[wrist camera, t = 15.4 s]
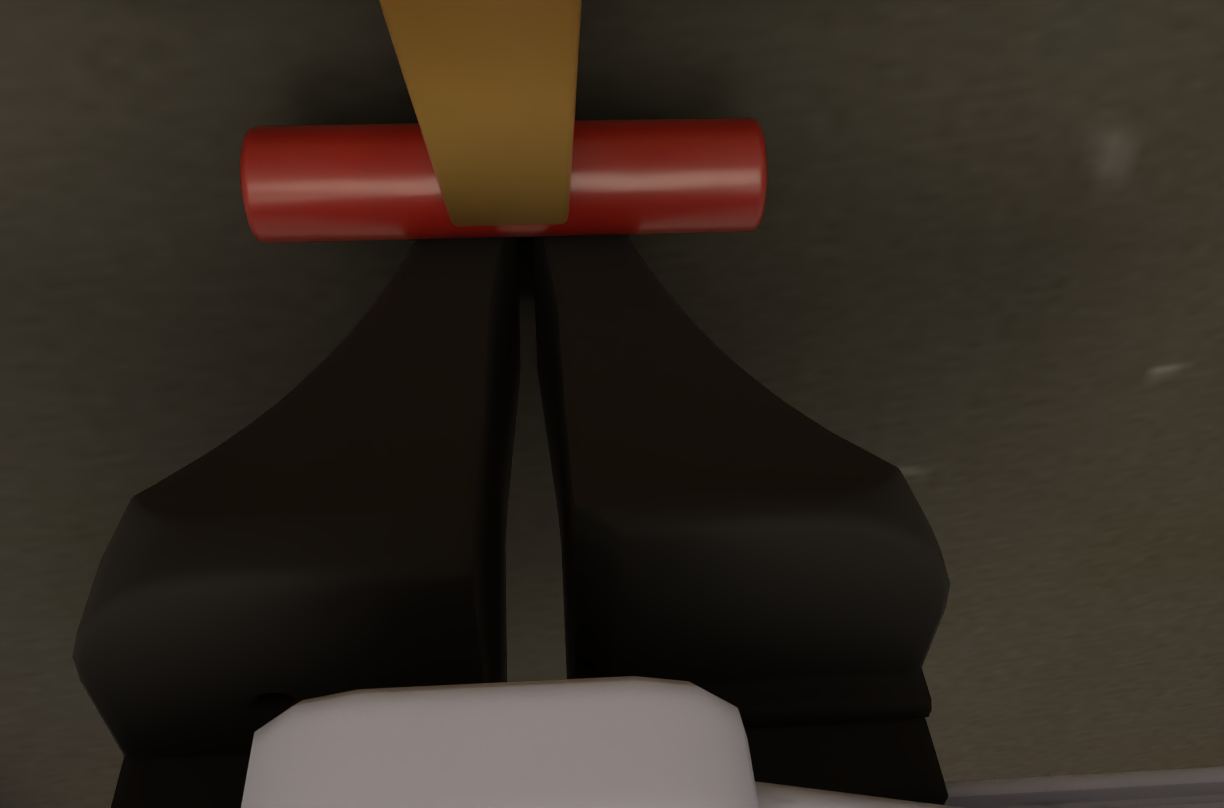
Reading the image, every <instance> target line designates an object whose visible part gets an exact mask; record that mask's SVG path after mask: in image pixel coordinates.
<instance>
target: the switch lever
mask: <svg viewBox="0 0 1224 808" xmlns="http://www.w3.org/2000/svg"><path fill="white" fill-rule="evenodd" d="M379 3H380V6H381V9H382V12H383V15H384V18H385V21H386V24H387V27H388V30H389V33H390V37H391V40H392V43H393V46H394V49H395V52H396V55H397V58H398V61H399V64H400V67H401V70H402V74H403V77H404V80H405V83H406V86H407V89H408V92H409V95H410V98H411V101H412V104H413V107H414V110H415V114H416V117H417V120H418V123H398V124H339V125H280V126H255V127H253V128H251V129H249V130H248V131H247V132H246V134H245V137H244V140H243V145H242V149H241V157H240V183H241V193H242V200H243V205H244V210H245V214H246V218H247V221H248V223H249V226H250V228H251V231H252V233H253V235H254V236H255V237H256V239H258V240H260V241H263V242H265V243H281V242H324V241H367V240H410V239H453V238H496V237H539V236H582V235H625V234H668V233H711V232H749V231H752V230H754V229H756V228H757V227H758V226H759V224H760V221H761V219H762V216H763V212H764V208H765V201H766V192H767V154H766V145H765V139H764V135H763V132H762V129H761V126H760V123H759V122H758V121H757V120H755V119H752V118H692V119H633V120H575V106H576V89H577V73H578V57H579V41H580V24H581V8H582V0H379Z"/></svg>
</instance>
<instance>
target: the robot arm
mask: <svg viewBox="0 0 1224 808" xmlns="http://www.w3.org/2000/svg"><path fill="white" fill-rule="evenodd" d="M533 247H534V278H535V310H536V341H537V369H538V377H539V384H540V391H541V398H542V404H543V411H544V418H545V425H546V432H547V439H548V446H549V453H550V460H551V466H552V473H553V480H554V487H555V494H556V501H557V507H558V515H559V525H560V535H561V546H562V570H563V594H564V618H565V642H566V667H567V679H563V680H543V681H522V682H507V637H506V549H505V546H506V525H507V509H508V499H509V488H510V478H511V467H512V456H513V446H514V435H515V424H516V414H517V403H518V392H519V381H520V324H519V291H518V269H517V247H516V237H496V238H453V239H418V240H417V241H416V243H415V244H414V246H413V248H412V249H411V251H410V253H409V254H408V256H407V257H406V259H405V261H404V262H403V264H402V265H401V267H400V268H399V270H398V271H397V272H396V274H395V275H394V277H393V278H392V279H391V281H390V282H389V283H388V285H387V286H386V287H385V289H384V290H383V292H382V293H381V294H380V296H379V297H378V298H377V300H376V301H375V303H374V304H373V305H372V307H371V308H370V309H369V310H368V312H367V313H366V314H365V315H364V316H363V318H362V319H361V320H360V321H359V322H358V324H357V325H356V326H355V327H354V328H353V329H352V331H351V332H350V333H349V334H348V335H347V336H346V337H345V338H344V340H343V341H342V342H341V343H340V344H339V345H338V346H337V347H336V348H335V349H334V350H333V351H332V352H331V354H330V355H329V356H328V357H327V358H326V359H325V360H324V361H323V362H321V363H320V364H319V365H318V366H317V367H316V368H315V369H314V370H313V371H312V372H311V373H310V374H309V375H308V376H307V377H306V378H305V379H304V380H303V381H302V382H300V383H299V384H298V385H297V386H296V387H295V388H294V389H293V390H292V391H291V392H290V393H288V394H287V395H286V396H285V397H284V398H283V399H282V400H280V401H279V402H278V403H277V404H276V405H274V406H273V407H272V408H270V409H269V410H268V411H267V412H265V413H264V414H263V415H261V416H260V417H259V418H257V419H256V420H255V421H253V422H252V423H251V424H249V425H248V426H247V427H245V428H244V429H242V430H241V431H239V432H238V433H237V434H235V435H234V436H232V437H231V438H229V439H228V440H227V441H225V442H224V443H222V444H221V445H219V446H218V447H216V448H215V449H213V450H212V451H210V452H209V453H207V454H206V455H204V456H202V457H200V458H199V459H197V460H195V461H194V462H192V463H190V464H189V465H187V466H185V467H184V468H182V469H180V470H178V471H177V472H175V473H173V474H172V475H170V476H168V477H167V478H165V479H163V480H162V481H160V482H158V483H157V484H155V485H153V486H151V487H150V488H148V489H146V490H144V491H142V492H140V493H139V494H137V495H135V496H134V497H133V498H132V499H131V501H130V503H129V505H128V507H127V509H126V511H125V513H124V515H123V517H122V519H121V521H120V523H119V525H118V527H117V529H116V531H115V533H114V534H113V536H112V538H111V541H110V543H109V545H108V547H107V549H106V551H105V553H104V555H103V557H102V560H101V562H100V564H99V567H98V570H97V573H96V576H95V579H94V582H93V584H92V588H91V591H90V594H89V597H88V600H87V603H86V606H85V609H84V613H83V616H82V619H81V622H80V625H79V628H78V631H77V636H76V641H75V646H74V652H73V659H74V662H75V665H76V669H77V672H78V675H79V678H80V681H81V682H82V684H83V686H84V687H85V689H86V691H87V693H88V694H89V696H90V698H91V699H92V701H93V703H94V705H95V706H96V708H97V710H98V712H99V713H100V715H101V717H102V718H103V720H104V722H105V724H106V725H107V727H108V729H109V730H110V732H111V734H112V736H113V737H114V739H115V741H116V743H117V744H118V746H119V748H120V749H121V751H122V753H123V755H124V760H123V764H122V768H121V771H120V775H119V779H118V783H117V786H116V790H115V794H114V798H113V802H112V805H111V808H1224V766H1222V767H1204V768H1186V769H1168V770H1150V771H1132V772H1114V773H1096V774H1078V775H1060V776H1042V777H1024V778H1006V779H988V780H970V781H952V782H944V779H943V775H942V772H941V769H940V766H939V762H938V759H937V756H936V752H935V749H934V746H933V742H932V739H931V736H930V732H929V729H928V726H927V722H926V719H925V717H928V716H929V714H930V712H931V709H932V707H931V697H930V694H929V690H928V687H927V684H926V681H925V677H924V674H923V671H922V665H923V663H924V660H925V658H926V655H927V653H928V650H929V648H930V645H931V643H932V640H933V638H934V635H935V633H936V630H937V628H938V625H939V623H940V620H941V618H942V615H943V613H944V610H945V608H946V604H947V598H948V593H949V587H950V581H949V578H948V574H947V571H946V567H945V563H944V560H943V557H942V553H941V550H940V547H939V545H938V542H937V540H936V537H935V535H934V533H933V530H932V528H931V526H930V524H929V522H928V520H927V519H926V517H925V515H924V513H923V511H922V509H921V507H920V505H919V503H918V501H917V500H916V498H915V496H914V494H913V492H912V491H911V489H910V487H909V485H908V483H907V481H906V480H905V478H904V476H903V474H902V473H901V471H900V470H899V469H898V468H897V467H896V466H894V465H892V464H890V463H888V462H886V461H884V460H882V459H881V458H879V457H877V456H875V455H873V454H871V453H869V452H868V451H866V450H864V449H862V448H860V447H858V446H856V445H854V444H853V443H851V442H849V441H847V440H845V439H843V438H841V437H839V436H838V435H836V434H834V433H832V432H830V431H829V430H827V429H825V428H824V427H822V426H821V425H819V424H818V423H816V422H815V421H813V420H811V419H810V418H808V417H807V416H805V415H804V414H802V413H801V412H799V411H798V410H796V409H795V408H793V407H791V406H790V405H788V404H787V403H786V402H784V401H783V400H782V399H780V398H779V397H777V396H776V395H775V394H773V393H772V392H771V391H770V390H768V389H767V388H766V387H764V386H763V385H762V384H761V383H759V382H758V381H757V380H756V379H754V378H753V377H752V376H751V375H749V374H748V373H747V372H745V371H744V370H743V369H742V368H740V367H739V366H738V365H737V364H736V363H735V362H734V361H733V360H731V359H730V358H729V357H728V356H727V355H726V354H725V353H724V352H723V351H722V350H720V349H719V348H718V347H717V346H716V345H715V344H714V343H713V342H712V341H711V340H710V339H709V338H708V337H707V336H706V335H705V334H704V333H703V332H702V331H701V330H700V329H699V328H698V327H697V325H696V324H695V323H694V322H693V321H692V320H691V319H690V318H689V317H688V316H687V315H686V313H685V312H684V311H683V310H682V309H681V308H680V306H679V305H678V304H677V303H676V302H675V301H674V299H673V298H672V297H671V296H670V294H669V293H668V292H667V291H666V289H665V288H664V287H663V286H662V285H661V283H660V282H659V281H658V279H657V278H656V277H655V275H654V274H653V273H652V271H651V270H650V269H649V267H648V266H647V265H646V263H645V262H644V260H643V259H642V257H641V256H640V255H639V253H638V252H637V250H636V249H635V247H634V246H633V244H632V243H631V241H630V240H629V238H628V237H627V235H626V234H625V235H582V236H539V237H533Z"/></svg>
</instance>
